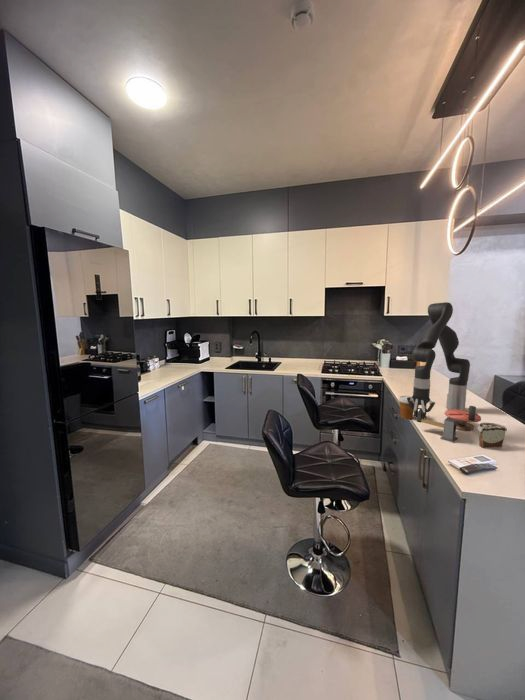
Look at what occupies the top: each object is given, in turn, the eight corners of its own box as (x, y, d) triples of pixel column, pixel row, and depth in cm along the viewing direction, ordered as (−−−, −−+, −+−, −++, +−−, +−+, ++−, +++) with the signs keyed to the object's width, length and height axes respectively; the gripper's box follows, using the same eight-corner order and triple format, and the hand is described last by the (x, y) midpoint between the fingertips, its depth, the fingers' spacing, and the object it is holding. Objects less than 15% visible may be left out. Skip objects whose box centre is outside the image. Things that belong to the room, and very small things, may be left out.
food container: (494, 441, 140) (496, 421, 138) (505, 447, 134) (507, 426, 132) (469, 442, 139) (471, 422, 138) (479, 448, 133) (481, 427, 132)
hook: (415, 421, 153) (416, 408, 152) (417, 419, 155) (418, 407, 154) (447, 429, 142) (448, 416, 141) (449, 428, 144) (450, 414, 143)
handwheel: (438, 418, 164) (439, 397, 163) (467, 418, 164) (468, 397, 162) (456, 430, 148) (458, 407, 146) (488, 430, 148) (490, 407, 146)
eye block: (440, 438, 143) (441, 419, 142) (444, 434, 147) (445, 416, 146) (454, 442, 139) (455, 423, 137) (458, 438, 143) (459, 419, 142)
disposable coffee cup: (394, 415, 174) (394, 396, 173) (406, 413, 178) (407, 394, 176) (406, 421, 166) (407, 401, 164) (419, 418, 169) (420, 399, 167)
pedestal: (464, 422, 162) (464, 420, 162) (479, 430, 151) (479, 428, 151) (445, 423, 162) (445, 420, 162) (459, 431, 151) (459, 428, 151)
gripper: (404, 385, 152) (403, 416, 155) (434, 390, 142) (431, 423, 145) (410, 382, 157) (408, 412, 160) (439, 387, 147) (436, 419, 150)
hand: (419, 417), depth 152 cm, fingers closed on hook, 3 cm apart
